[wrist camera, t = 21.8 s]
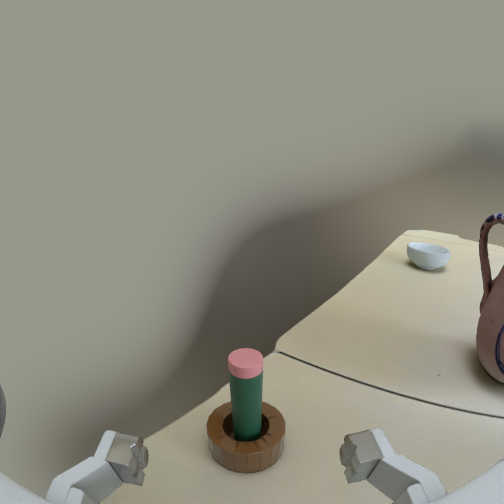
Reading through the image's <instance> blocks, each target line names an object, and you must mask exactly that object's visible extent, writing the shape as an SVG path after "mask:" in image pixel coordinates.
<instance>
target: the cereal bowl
mask: <svg viewBox="0 0 504 504" xmlns="http://www.w3.org/2000/svg"><path fill="white" fill-rule="evenodd" d="M407 255H408V257H409V259H410V260H411V261H412V262H414V263H415V264H416V266H417V267H419V268H422V269H426V270H435V269H436V268H440V267H442V266H444V265H446V264H447V262H448V260H449V257H450V251H449V250H448V249H446V248H444V247H441V246H437V245H432V244H426V243H409V244H408V245H407Z"/></svg>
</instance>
